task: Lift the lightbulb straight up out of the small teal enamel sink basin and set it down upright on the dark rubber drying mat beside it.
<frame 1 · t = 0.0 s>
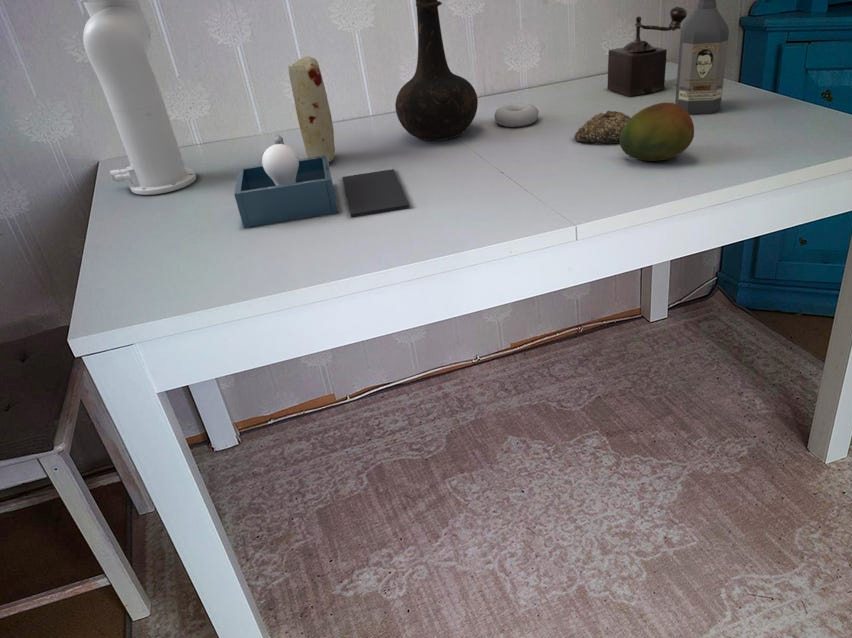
lightbulb: (291, 207, 125), resting in sink
bread roll: (607, 136, 145), on the table
dark brown vase: (440, 135, 154), on the table
manual coffee grinder: (644, 89, 174), on the table
fruit: (654, 161, 130), on the table
donut: (516, 123, 158), on the table
drying mat: (374, 193, 127), on the table
food model: (323, 161, 145), on the table
liquor: (696, 109, 156), on the table
sink: (291, 206, 125), on the table
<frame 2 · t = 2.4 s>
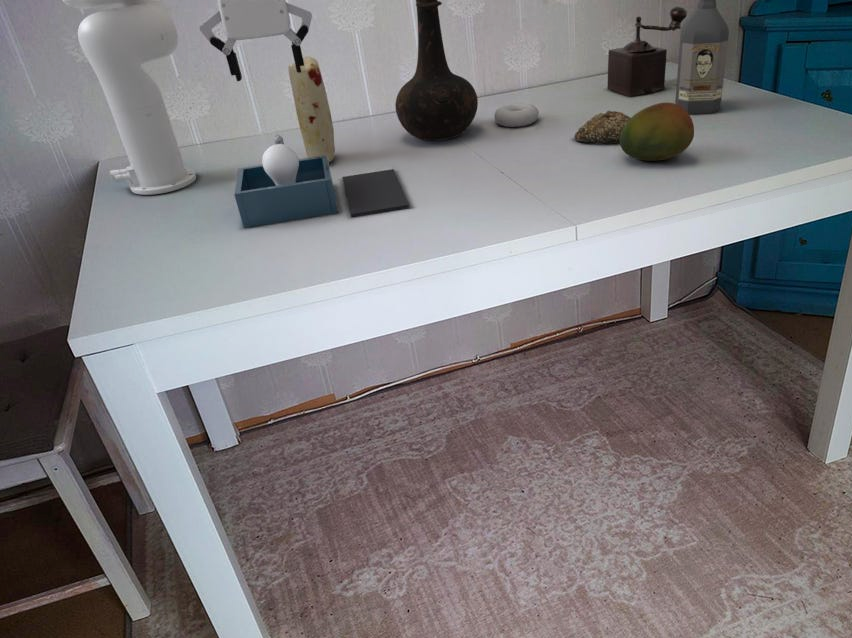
hand: (269, 75, 114), 22 cm above the table, tool pointing down, fingers open, 9 cm apart
nothing on the table moved.
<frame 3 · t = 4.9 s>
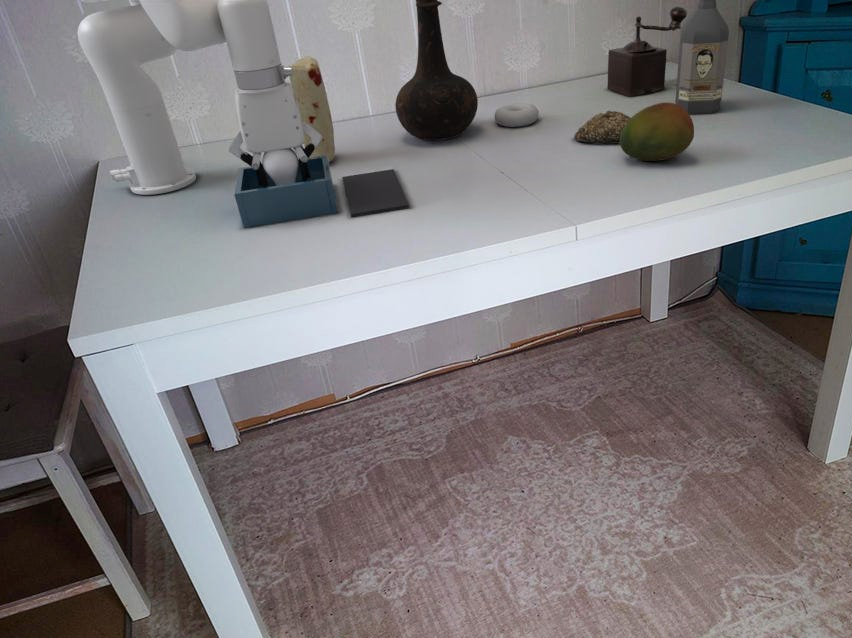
hand: (286, 185, 123), 4 cm above the table, tool pointing down, fingers closed on lightbulb, 6 cm apart
lightbulb: (291, 207, 125), resting in sink, touching gripper
everything else where it was.
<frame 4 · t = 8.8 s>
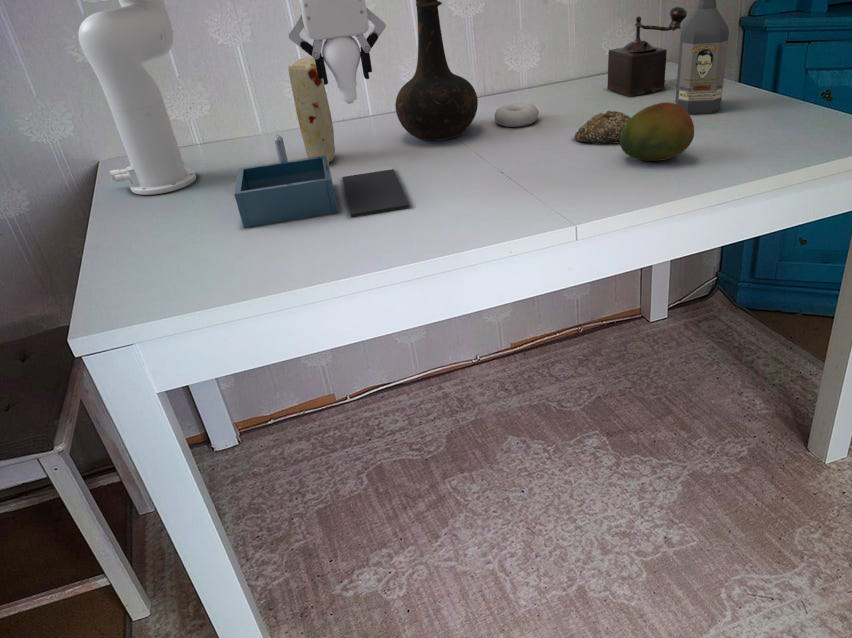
hand: (346, 79, 116), 20 cm above the table, tool pointing down, fingers closed on lightbulb, 6 cm apart
lightbulb: (350, 104, 118), point 16 cm above the table, touching gripper
everything else where it was.
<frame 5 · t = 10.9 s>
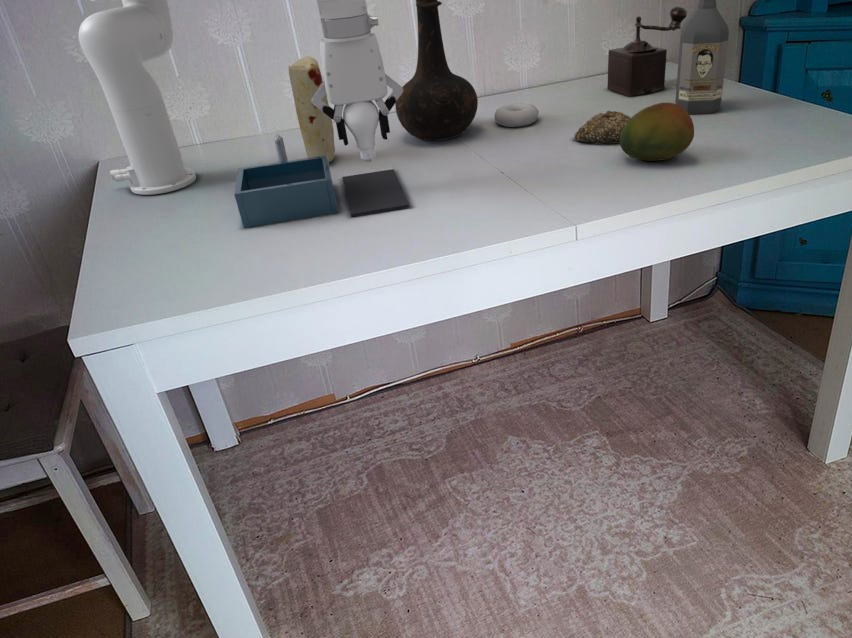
hand: (365, 139, 122), 10 cm above the table, tool pointing down, fingers closed on lightbulb, 6 cm apart
lightbulb: (369, 162, 124), point 6 cm above the table, touching gripper
everything else where it was.
when the fingers open (5 cm above the table, at t = 12.6 s): lightbulb stays where it is, resting on drying mat.
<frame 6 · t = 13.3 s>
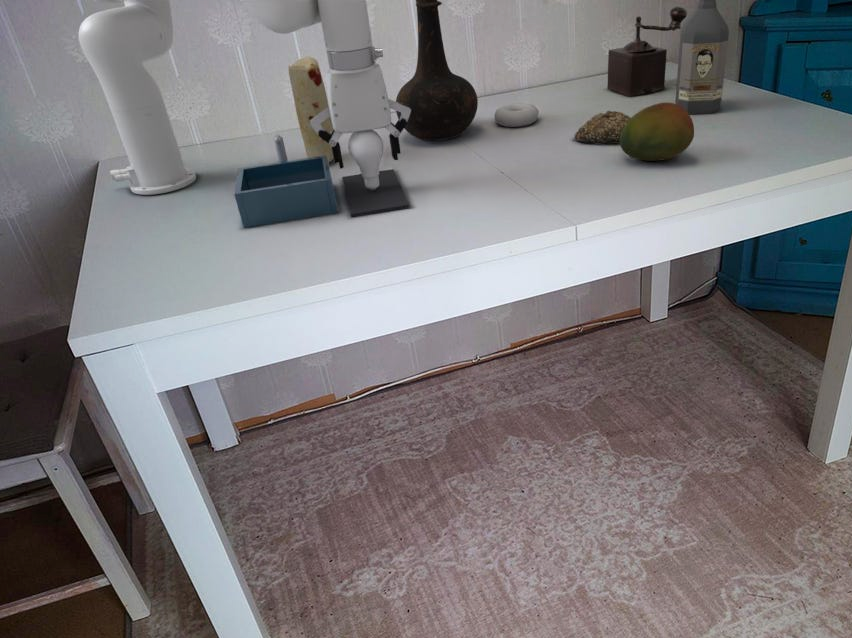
hand: (368, 162, 124), 6 cm above the table, tool pointing down, fingers open, 9 cm apart
lightbulb: (373, 190, 127), resting on drying mat
everything else where it was.
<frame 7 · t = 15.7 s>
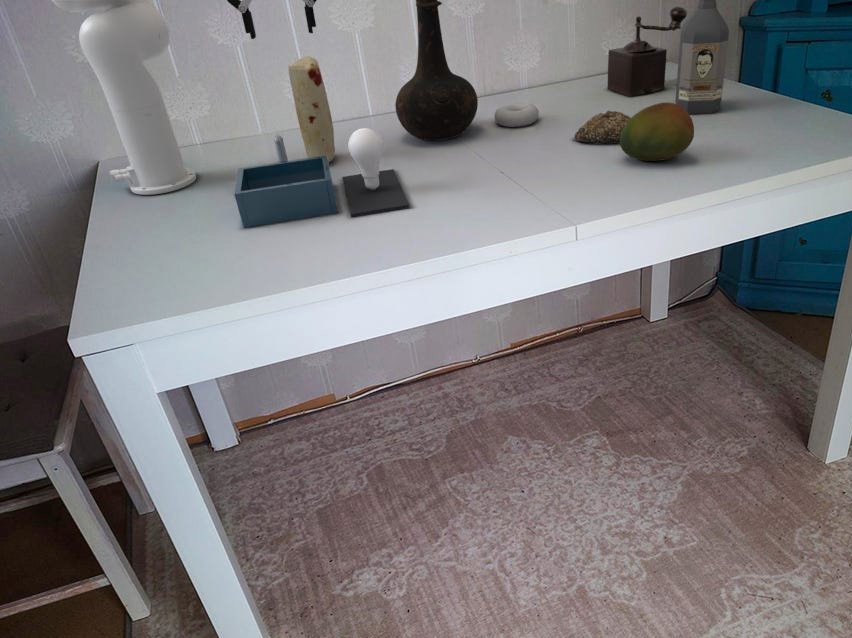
hand: (282, 34, 119), 26 cm above the table, tool pointing down, fingers open, 9 cm apart
nothing on the table moved.
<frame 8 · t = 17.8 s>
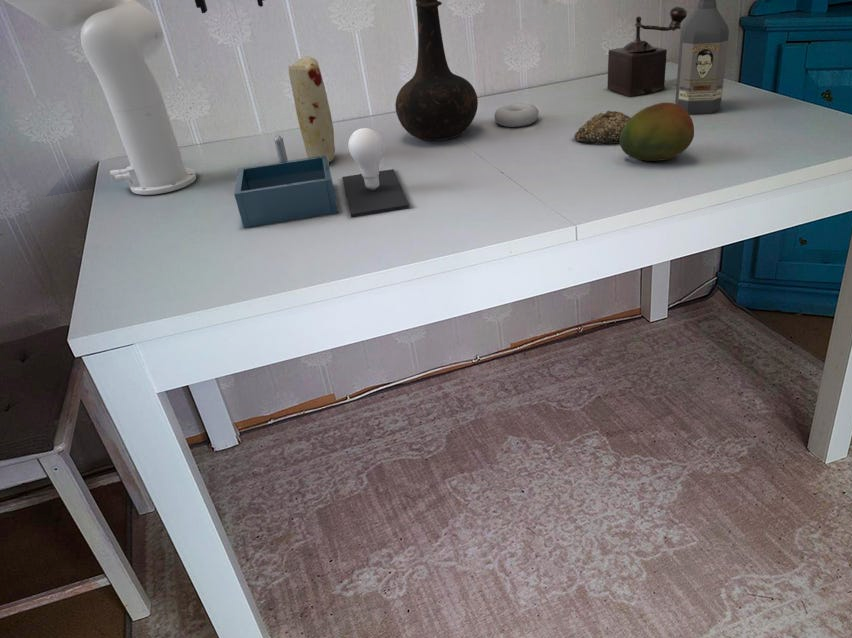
hand: (233, 8, 122), 30 cm above the table, tool pointing down, fingers open, 9 cm apart
nothing on the table moved.
at the end: lightbulb inside the target area (0.1 cm from its centre), resting on drying mat; lightbulb tilted 0°; the gripper is holding nothing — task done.
